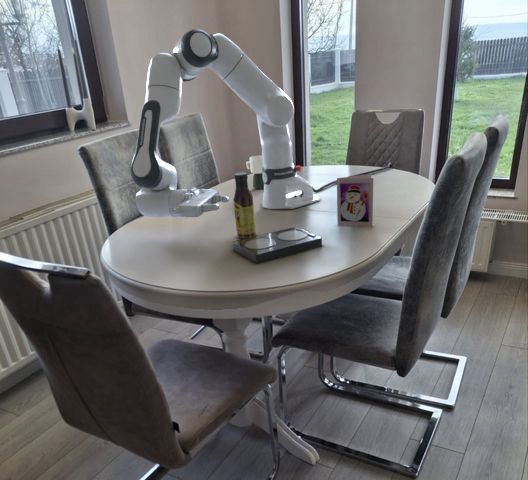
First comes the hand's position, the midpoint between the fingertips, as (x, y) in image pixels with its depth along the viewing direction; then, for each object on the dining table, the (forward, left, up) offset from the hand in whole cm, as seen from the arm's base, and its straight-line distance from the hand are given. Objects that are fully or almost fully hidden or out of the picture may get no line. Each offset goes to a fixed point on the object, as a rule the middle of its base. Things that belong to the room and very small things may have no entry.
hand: (223, 202), depth 160 cm
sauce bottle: (-5, +5, -11) cm, 13 cm away
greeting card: (-39, +18, -11) cm, 44 cm away
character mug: (-41, -54, -11) cm, 69 cm away
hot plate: (-7, +21, -11) cm, 25 cm away
